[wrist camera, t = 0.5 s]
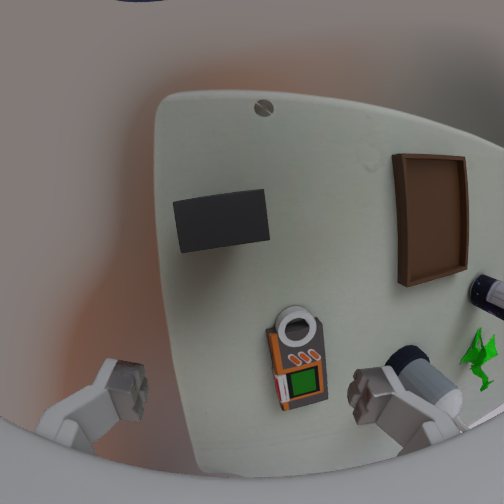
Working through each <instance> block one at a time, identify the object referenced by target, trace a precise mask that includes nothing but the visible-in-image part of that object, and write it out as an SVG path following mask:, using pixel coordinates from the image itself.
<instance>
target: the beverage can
mask: <svg viewBox="0 0 504 504" xmlns="http://www.w3.org/2000/svg"><path fill="white" fill-rule="evenodd" d="M470 299H471V303H472V304H473V305H475V306H477V307H479V308H481V309H483V310H485V311H486V312H488V313H490V314H492V315H494V316H496V317H498V318H500V319H502V320H504V282H501V281H499V280H496V279H494V278H491V277H489V276H486V275H480V276H479V277H478V278H476V279H475V280H474V281H473V283H472V285H471V288H470Z"/></svg>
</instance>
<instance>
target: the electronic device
mask: <svg viewBox="0 0 504 504" xmlns="http://www.w3.org/2000/svg"><path fill="white" fill-rule="evenodd" d="M295 318H303V319H305V320H304V321H300V322H295V323H291V324H287V323H288V322H289V321H291V320H292V319H295ZM266 332H267V337H268V343H269V348H270V354H271V359H272V364H273V367H272V371H273V376H274V382H275V387H276V392H277V394H278V398H279V402H280V405H281V408H282V410H283V411H286V410H290V409H294V408H298V407H302V406H306V405H309V404H313V403H316V402H320V401H323V400H327V399H328V387H327V372H326V359H325V347H324V336H323V326H322V323H321V322H320V320H319V319H318V318H317V317H316V318H313V316H312V315H311V314H310V313H309V312H308V311H307V310H306V309H305V308H303V307H299V306H293V307H289V308H287V309H285V310H283V311H282V312H281V313H280V314H279V316H278V317H277V320H276V324H275V327H274V328H270V329H266Z"/></svg>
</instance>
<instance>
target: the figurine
mask: <svg viewBox="0 0 504 504" xmlns="http://www.w3.org/2000/svg"><path fill="white" fill-rule="evenodd" d="M480 334H481V328H480V329H479V330H478V331H477V333H476V336H475V339H474V342H473V345H472V350H471V349H470V348H469V349H468V353H467V354H466V355H465V356H464V358H463V359H462V360H461V363H462V362H463V361H465V362H466V363H469V362H472V364H474V365H471V368H470V369H472V371H473V374H475V375H477V376H479V377H480V378H482V382H483V385H482V387H481V389H480V391H481V392H482V391H483V390H485V389H486V388H488V386H489V384H490V383H492V382H493V381H494V380H493V381H490V382H488V377H487V376H486V374H485V373H484V372H483V371H482V369H481V366H482V365H483V364H484V363H485V362H487V361H488V360H490V359H491V358H493V357H495V356H497V355H498V354H497V351H496V347H495V338H494V335H493V337H492V338H491V339H490V341H489V342H488V343H487V345H485V347H484V346H483V343H482V338H481V335H480ZM479 338H480V341H481V348H482V349H481V350H480V348H476V346H477V343H478V340H479ZM461 363H460V364H461Z"/></svg>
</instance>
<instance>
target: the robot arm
mask: <svg viewBox="0 0 504 504" xmlns="http://www.w3.org/2000/svg"><path fill="white" fill-rule="evenodd" d="M145 372H146V371H145V366H144V365H143V364H139V363H133V362H127V361H122V360H116V359H111V358H107V359H106V360H105V361H104V363H103V365H102V366H101V368H100V370H99V372H98V374H97V376H96V378H95V380H94V382H93V384H92V386H90V385H88V386H86V387H84V388H83V389H81V390H79V391H78V392H76V393H74V394H72V395H71V396H69V397H67V398H65V399H64V400H62V401H60V402H58V403H57V404H55V405H53V406H51V407H50V408H48V409H46V410H45V411H44V413H43V415H42V417H41V419H40V421H39V423H38V425H37V426H36V428H35V430H34V432H30V431H28V430H26V429H24V428H22V427H20V426H18V425H16V424H14V423H12V422H10V421H8V420H7V419H5V418H2V417H1V416H0V504H504V412H502V413H500V414H499V415H497V416H495V417H493V418H491V419H489V420H487V421H486V422H484V423H481V424H480V425H477V426H476V427H474V428H472V429H469V430H467V431H465V432H463V433H460V431H459V430H458V428H457V426H456V425H455V423H454V421H453V420H452V418H451V416H450V415H449V414H448V413H447V412H445V411H443V410H441V409H440V408H438V407H436V406H434V405H433V404H431V403H429V402H427V401H426V400H424V399H422V398H421V397H419V396H417V395H415V394H414V393H412V392H410V391H406V390H405V388H404V387H403V385H402V383H401V382H400V380H399V378H398V377H397V375H396V373H395V372H394V370H393V368H392V367H391V366H381V367H373V368H365V369H357V370H356V371H355V372H354V375H353V378H354V381H353V382H351V383H350V385H349V387H348V391H347V398H348V402H349V405H350V406H352V407H353V408H354V411H353V415H354V418H355V421H356V423H357V425H362V424H368V423H375V422H376V424H377V425H378V426H379V427H380V428H381V429H382V430H384V431H385V432H386V433H387V434H388V435H389V436H391V437H392V438H393V439H394V440H395V441H396V442H398V443H399V444H400V445H401V446H402V447H404V448H403V449H402V450H401V451H400V452H399V454H398V455H397V457H394V458H391V459H387V460H383V461H379V462H375V463H371V464H367V465H362V466H358V467H353V468H347V469H342V470H336V471H330V472H323V473H315V474H307V475H297V476H284V477H264V478H229V477H210V476H197V475H187V474H179V473H171V472H165V471H159V470H153V469H147V468H141V467H137V466H133V465H128V464H124V463H120V462H116V461H112V460H108V459H104V458H101V457H99V455H98V454H97V453H96V451H95V450H94V448H93V447H92V445H93V444H94V443H95V442H96V441H97V440H99V439H100V438H101V437H102V436H103V435H104V434H105V433H107V432H108V431H109V430H110V429H111V428H112V427H114V426H115V425H116V424H117V423H118V422H119V421H120V420H125V421H131V422H137V423H141V419H142V416H143V413H144V408H143V404H144V403H146V402H147V398H148V393H149V384H148V379H147V378H146V377H145Z"/></svg>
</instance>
